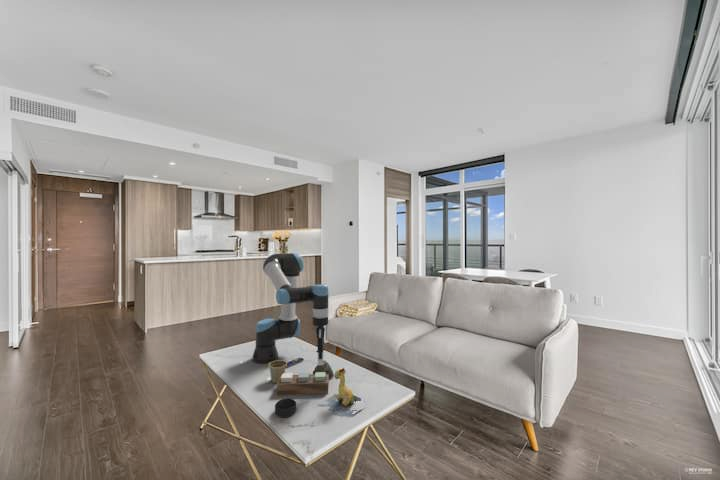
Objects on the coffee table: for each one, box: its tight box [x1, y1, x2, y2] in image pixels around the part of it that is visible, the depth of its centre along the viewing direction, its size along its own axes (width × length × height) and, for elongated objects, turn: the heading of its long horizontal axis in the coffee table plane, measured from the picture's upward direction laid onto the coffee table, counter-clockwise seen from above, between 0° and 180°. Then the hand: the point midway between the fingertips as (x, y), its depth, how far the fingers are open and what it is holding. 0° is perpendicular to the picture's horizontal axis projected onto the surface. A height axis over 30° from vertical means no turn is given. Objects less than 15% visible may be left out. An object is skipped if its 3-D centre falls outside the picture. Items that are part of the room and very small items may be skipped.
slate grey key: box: [298, 372, 310, 382], centre depth 151 cm, size 5×5×2 cm
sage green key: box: [315, 372, 326, 381], centre depth 151 cm, size 5×5×2 cm
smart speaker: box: [274, 398, 297, 418], centre depth 131 cm, size 9×9×4 cm
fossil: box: [312, 359, 335, 380], centre depth 165 cm, size 11×9×10 cm
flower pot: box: [267, 359, 288, 384], centre depth 160 cm, size 9×9×9 cm
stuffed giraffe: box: [318, 367, 362, 419], centre depth 137 cm, size 16×18×16 cm
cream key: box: [281, 372, 294, 382], centre depth 150 cm, size 5×5×2 cm
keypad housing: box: [276, 373, 330, 396], centre depth 151 cm, size 10×24×5 cm, turn 94°
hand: (320, 364), depth 151 cm, fingers closed
